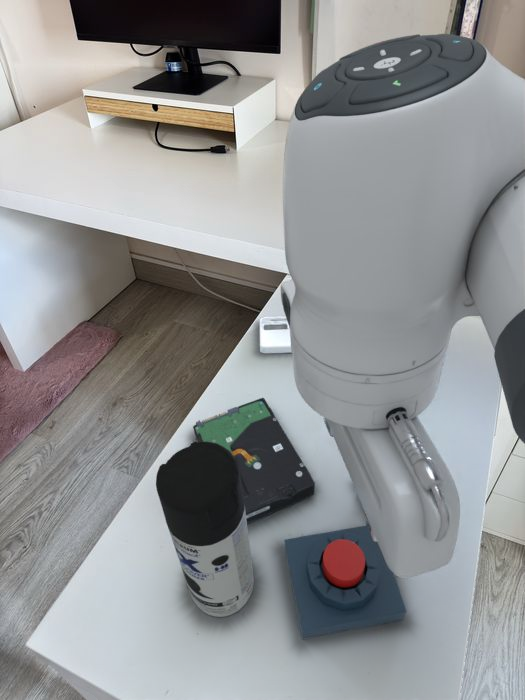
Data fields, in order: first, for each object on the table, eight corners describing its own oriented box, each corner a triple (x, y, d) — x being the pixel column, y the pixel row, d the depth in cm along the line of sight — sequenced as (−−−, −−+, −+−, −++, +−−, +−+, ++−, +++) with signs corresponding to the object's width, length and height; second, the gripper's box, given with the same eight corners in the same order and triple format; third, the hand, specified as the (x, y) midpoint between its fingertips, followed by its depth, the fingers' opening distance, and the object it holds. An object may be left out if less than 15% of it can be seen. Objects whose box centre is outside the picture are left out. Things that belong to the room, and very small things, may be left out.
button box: (374, 533, 55) (378, 515, 53) (403, 620, 49) (409, 603, 46) (284, 549, 55) (284, 531, 52) (302, 639, 48) (302, 623, 45)
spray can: (177, 582, 52) (136, 473, 39) (227, 539, 56) (205, 425, 42) (217, 633, 49) (186, 532, 35) (268, 584, 52) (258, 474, 38)
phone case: (260, 354, 77) (358, 350, 77) (259, 347, 76) (358, 343, 76) (259, 323, 83) (351, 319, 82) (259, 317, 82) (352, 313, 81)
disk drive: (316, 495, 59) (264, 408, 69) (317, 482, 57) (263, 395, 67) (235, 531, 56) (192, 435, 66) (233, 519, 55) (189, 422, 64)
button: (356, 544, 51) (358, 535, 50) (369, 584, 48) (370, 576, 47) (318, 551, 51) (318, 542, 49) (328, 591, 48) (328, 583, 46)
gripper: (516, 490, 23) (460, 597, 33) (355, 252, 38) (349, 376, 47) (387, 526, 23) (369, 625, 32) (273, 270, 37) (285, 392, 47)
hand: (357, 475), depth 40 cm, fingers open, 8 cm apart
